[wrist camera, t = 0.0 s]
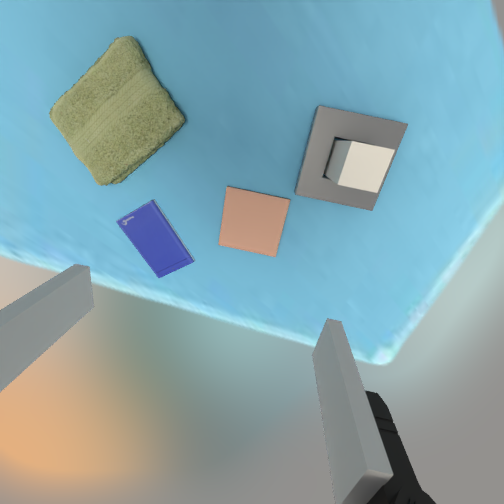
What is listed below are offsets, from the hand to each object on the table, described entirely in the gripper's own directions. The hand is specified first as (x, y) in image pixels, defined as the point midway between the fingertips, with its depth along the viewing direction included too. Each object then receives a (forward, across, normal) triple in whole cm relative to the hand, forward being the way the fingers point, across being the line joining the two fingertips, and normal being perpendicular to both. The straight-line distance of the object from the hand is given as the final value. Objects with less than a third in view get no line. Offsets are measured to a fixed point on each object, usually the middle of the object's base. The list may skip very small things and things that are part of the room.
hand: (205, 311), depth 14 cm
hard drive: (+29, -15, -11) cm, 34 cm away
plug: (+28, +12, +8) cm, 31 cm away
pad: (+28, +1, -4) cm, 28 cm away
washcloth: (+29, -21, +7) cm, 37 cm away
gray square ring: (+28, +12, +8) cm, 31 cm away
